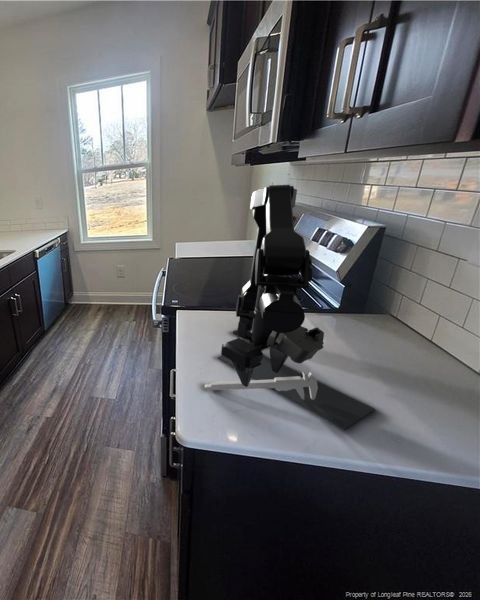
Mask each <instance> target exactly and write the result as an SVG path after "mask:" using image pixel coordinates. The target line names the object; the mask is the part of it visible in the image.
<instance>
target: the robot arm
mask: <svg viewBox="0 0 480 600" xmlns="http://www.w3.org/2000/svg"><path fill="white" fill-rule="evenodd" d="M297 194H298V189H297V188H295V187H294V185H290V184H276V185H275V184H273V185H272V184H271V185H268V186H265V187H264V188H258V190H254V191H253V192H252V195H251V199H250V210H252V217H253V220H254V222H255V223H256V225H257V230H256V235H255V243H254V249H253V256H252V263H251V269H250V275H249V280H248V281H247V282H246V284H244V286H243V287H242V288H241V294H240V295H238V296H237V300H236V304H235V305H236V306H235V317H237V318H239V319H238V323H237V329H236V330H233V331H232V334H233V335H236V336H237V338H235V339H232V340H229V341H227V342H224V343H222V344H221V348H220V349H221V351H220V354H221V355H220V356H224V357H226V358H228V359H230V360H231V361H232V363H233V365H234V367H235V368H234V367H233V368H234V369H235V372H236V374H237V376H238V379H239V381H241V383H242V385H244V386H245V387H248V385H249V383H250V380H252V377H251V376H252V373H253V369H254V368H255V367H257V366H260V365H262V364H261V363H260V362H261V360H262V358H263V355H264V353H263V352H264V351H268V350H269V358H270V361H271V368H272V371H273V372H275V373H278V372H279V370H280V369H281V367H282V366H283V365H285V362H286V361H287V359H288V358H290V360H291V361H292V362H294V363H296V364H302V363H304V362H306V361H308V360H311V359H313V357H314V356H315V355H317V352H319V351H320V350H322V349H324V344H325V342H324V339H325V332H324V331H323V330H322V329H320V328H319V327H314V328H311V329H308V328H307V327H305V326H302V325H303V324H304V322H305V318H306V315H305V310H304V308H303V307H302V305H301V302H300V300H299V299H298V297H297V292H298V289H302V290H303V289H305V290H308V289H309V285H310V284H309V283H311V282H312V280H313V260H312V259H313V258H312V256H311V252H310V250H309V249H307V247H306V242H305V239H304V237H303V236H302V235H300V234H299V233H298V232H296V230H295V226H294V225H295V224H294V223H295V222H294V212H293V211H294V210H293V209H294V207H296V202H297ZM299 274H300V277H297V276H299Z"/></svg>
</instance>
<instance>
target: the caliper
mask: <svg viewBox="0 0 480 600" xmlns="http://www.w3.org/2000/svg"><path fill="white" fill-rule="evenodd" d="M302 374H303V378H301V377H300V376H295V377H277V378H274V379H270V380H255V379H251V380H250V383H249V385H248V387H245V386H244V385H242V383H241V381H240V380H225V381H222V380H221V381H210V383H206V384H204V389H211V391H226V390H230V391H231V390H255V389H257V390H259V389H271V388H276V389H277V391H282V390H283V391H288V390H291V389H296V390H297V392H298V394H299V395H300V397H301V399H303V400H304V389H303V387H309V390H310V397H311V399H312V400H314V399H315V398H316V394H317V389H318V386H317V381H318V379H317V378H316V376H315V375H313V373H312V371H309V372H308V373H307V374H306V373H305V371H302ZM307 376H308V377H307ZM277 391H276V392H277Z"/></svg>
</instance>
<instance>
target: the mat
mask: <svg viewBox="0 0 480 600" xmlns="http://www.w3.org/2000/svg"><path fill="white" fill-rule="evenodd" d="M217 359H218V360H220V361H221V362H223V363H225V364H227V365H229V366H231V367H232V368H234V369H235V367H234V365H233V363H232V361H231V360H230V359H228V358H226V357H224V356H222V355H219V356H218V357H217ZM260 363H261V364H262V365H260V366H257V367H255V368H254V369H253V373H252V376H251V379H253V380H270V379H274V378H277V377H295V376H300V377H301V378H303V373H301V372H299V371H298V370H295V369H293V368H290V367H288V366H287V365H285V364H283V366H282V367H281V369H280V370H279V372H278V373H275V372H273V371H272V368H271V361H270V357H268V356H267V355H264V354H263V358H262V360H261V362H260ZM306 376H307V375H306ZM307 377H308V376H307ZM317 386H318V389H317V394H316V398H315V399H314V400H312V399H311V397H310V390H309V387H303V389H304V400H303V399H301V397H300V395H299V394H298V392H297V390H296V389H291V390H288V391H283V390H282V391H277V389H276V388H270V389H271V390H273V391H275V392H277V393H278V394H280V395H282V396H284V397H286V398H287V399H289V400H290V401H291V400H292V401H293V402H294V403H297V404H298V405H300V406H301V407H303V408H305V409H306V410H309V411H311V412H312V413H314V414H316V415H318V416H319V417H321V418H323V419H325V420H327V421H328V422H330V423H332V424H333V425H336V426H337V427H339V428H341V429H342V430H343V431H345V430H347V429H349V428H350V427H352V426H353V425H355V424H356V423H358V422H359V421H361V420H362V419H364V418H365V417H367V416H369V415H370V414H372V413H373V412H374V411H375V410H376V408H374V407H372V406H370V405H368V404H366V403H364V402H362V401H361V400H357V399H355V398H354V397H351V396H350V395H347V394H345V393H343V392H341V391H339V390H336V389H335V388H333V387H330V386H329V385H326V384H324V383H322V382H320V381H319V380H317Z"/></svg>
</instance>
